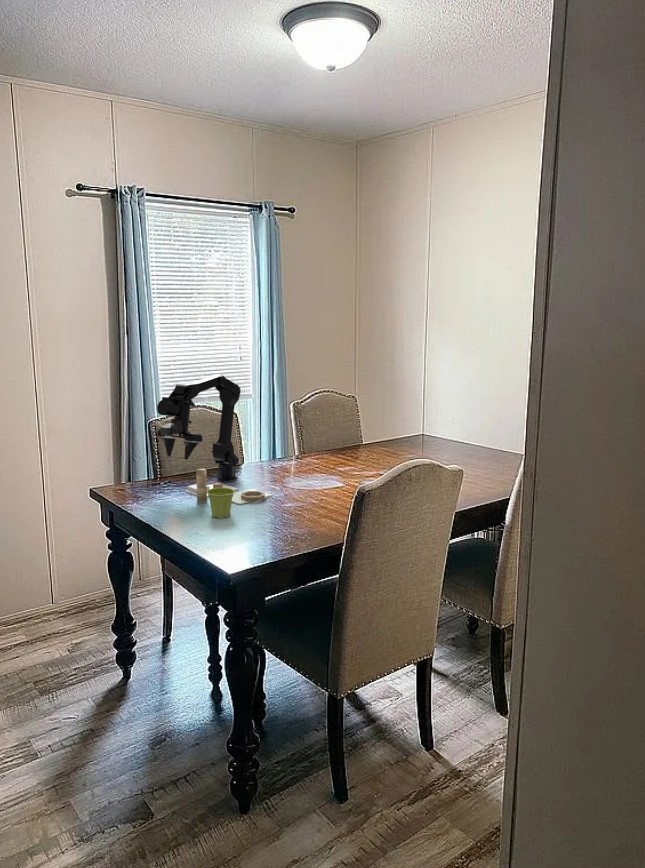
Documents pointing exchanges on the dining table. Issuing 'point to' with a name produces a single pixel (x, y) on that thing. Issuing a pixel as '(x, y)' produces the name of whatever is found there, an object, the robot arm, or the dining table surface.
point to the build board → (249, 496)
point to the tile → (193, 488)
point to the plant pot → (220, 501)
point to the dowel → (201, 485)
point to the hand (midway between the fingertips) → (177, 458)
